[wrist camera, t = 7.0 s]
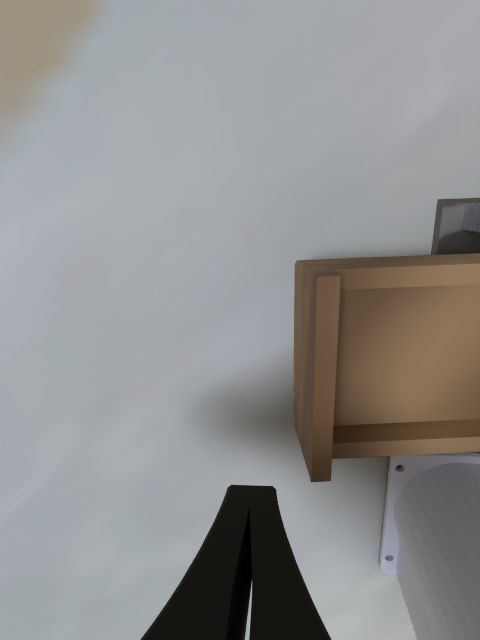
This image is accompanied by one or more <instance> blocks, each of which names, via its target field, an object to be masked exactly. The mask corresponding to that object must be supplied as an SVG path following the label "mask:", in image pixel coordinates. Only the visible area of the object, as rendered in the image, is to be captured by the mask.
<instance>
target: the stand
mask: <svg viewBox="0 0 480 640" xmlns="http://www.w3.org/2000/svg"><path fill="white" fill-rule="evenodd" d="M474 253H480V198H465V199H439V200H438V204H437V212H436V220H435V228H434V236H433V244H432V252H431V255H449V254H474Z"/></svg>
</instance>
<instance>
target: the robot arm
mask: <svg viewBox="0 0 480 640" xmlns="http://www.w3.org/2000/svg"><path fill="white" fill-rule="evenodd" d="M398 465H402V466H401V467H399V468H397V467H396V466H398ZM387 555H388V556H387ZM379 568H380V571H381V572H382V573H383V574H386V575H397V578H398V581H399V584H400V587H401V591H402V594H403V597H404V600H405V603H406V606H407V609H408V612H409V615H410V618H411V621H412V624H413V628H414V631H415V634H416V637H417V640H480V453H444V454H423V455H403V456H391V457H390V464H389V473H388V483H387V492H386V501H385V510H384V520H383V529H382V538H381V547H380V557H379ZM251 582H252V607H251V623H250V639H249V640H331V638H330V636H329V634H328V632H327V630H326V628H325V626H324V624H323V622H322V620H321V618H320V616H319V614H318V612H317V609H316V607H315V605H314V603H313V601H312V599H311V596H310V594H309V592H308V590H307V587H306V585H305V582H304V580H303V578H302V575H301V573H300V570H299V568H298V565H297V563H296V560H295V558H294V555H293V552H292V549H291V546H290V544H289V541H288V538H287V535H286V532H285V529H284V525H283V522H282V518H281V515H280V510H279V506H278V501H277V494H276V489H275V488H274V487H273V486H249V485H231V486H229V487H228V489H227V492H226V495H225V497H224V500H223V503H222V505H221V507H220V510H219V512H218V514H217V516H216V518H215V521H214V523H213V525H212V527H211V529H210V531H209V533H208V535H207V536H206V538H205V540H204V542H203V544H202V546H201V548H200V550H199V552H198V553H197V555H196V557H195V559H194V560H193V562H192V564H191V565H190V567H189V569H188V570H187V572H186V574H185V576H184V577H183V579H182V581H181V582H180V584H179V585H178V587H177V588H176V590H175V592H174V593H173V595H172V596H171V598H170V599H169V601H168V602H167V604H166V605H165V607H164V608H163V609H162V611H161V612H160V614H159V615H158V617H157V618H156V619H155V621H154V622H153V624H152V625H151V626H150V628H149V629H148V630H147V632H146V633H145V634H144V636H143V637H142V638H141V640H245V632H246V624H247V616H248V607H249V599H250V591H251Z"/></svg>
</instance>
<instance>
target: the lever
mask: <svg viewBox="0 0 480 640" xmlns="http://www.w3.org/2000/svg"><path fill="white" fill-rule="evenodd" d="M294 394H295V429H296V432H297V436H298V439H299V442H300V446H301V449H302V452H303V456H304V459H305V463H306V466H307V469H308V473H309V476H310V479H311V482H323V481H331V464H332V459H340V458H361V457H382V456H403V455H423V454H444V453H465V452H480V253H474V254H449V255H424V256H399V257H374V258H349V259H324V260H299V261H296V263H295V297H294Z"/></svg>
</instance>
